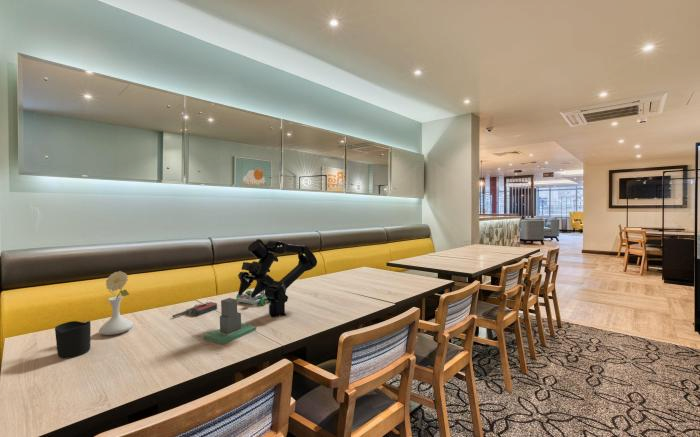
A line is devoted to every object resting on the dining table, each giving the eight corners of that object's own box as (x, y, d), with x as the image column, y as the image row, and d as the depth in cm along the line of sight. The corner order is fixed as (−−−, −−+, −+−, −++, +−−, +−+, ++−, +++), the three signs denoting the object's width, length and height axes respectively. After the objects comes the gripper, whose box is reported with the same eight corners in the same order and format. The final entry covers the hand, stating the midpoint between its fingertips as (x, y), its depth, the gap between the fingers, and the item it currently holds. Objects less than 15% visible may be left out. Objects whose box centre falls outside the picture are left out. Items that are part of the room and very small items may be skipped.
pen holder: (87, 344, 121) (86, 317, 121) (94, 352, 115) (93, 324, 115) (53, 353, 114) (52, 325, 113) (59, 362, 108) (58, 332, 107)
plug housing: (233, 326, 135) (233, 296, 134) (241, 329, 132) (240, 298, 132) (220, 332, 129) (219, 300, 128) (227, 334, 127) (226, 302, 126)
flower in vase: (92, 335, 130) (89, 272, 129) (121, 325, 140) (119, 266, 139) (114, 340, 125) (111, 274, 124) (142, 329, 136) (140, 269, 134)
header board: (237, 324, 140) (237, 313, 140) (255, 329, 135) (255, 318, 135) (204, 338, 127) (203, 326, 126) (223, 344, 121) (222, 331, 121)
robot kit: (289, 295, 185) (289, 279, 185) (259, 308, 163) (258, 289, 162) (263, 291, 193) (263, 275, 193) (231, 303, 171) (230, 285, 171)
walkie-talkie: (207, 306, 167) (170, 319, 149) (207, 297, 166) (170, 309, 148) (220, 308, 163) (184, 322, 145) (220, 300, 162) (183, 312, 144)
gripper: (239, 253, 147) (219, 284, 139) (265, 254, 135) (245, 288, 127) (256, 267, 154) (237, 297, 145) (282, 269, 142) (263, 302, 134)
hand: (245, 296), depth 138 cm, fingers open, 9 cm apart
